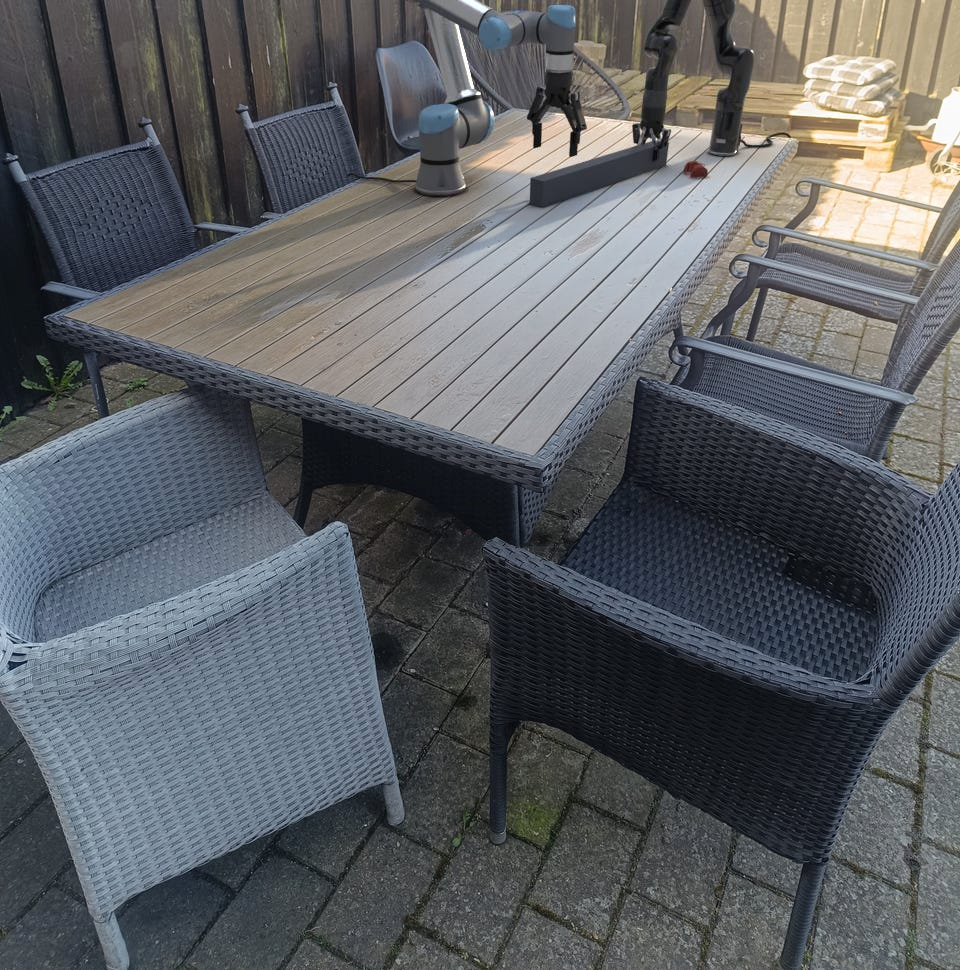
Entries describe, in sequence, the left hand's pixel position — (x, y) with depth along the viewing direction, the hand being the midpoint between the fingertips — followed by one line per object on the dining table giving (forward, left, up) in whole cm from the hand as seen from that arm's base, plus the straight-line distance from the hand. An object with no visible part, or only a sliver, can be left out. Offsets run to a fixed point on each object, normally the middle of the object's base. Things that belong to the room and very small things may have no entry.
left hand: (554, 151), depth 242 cm
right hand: (+5, +48, -11) cm, 49 cm away
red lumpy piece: (+21, +50, -14) cm, 56 cm away
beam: (+3, +24, -14) cm, 28 cm away
